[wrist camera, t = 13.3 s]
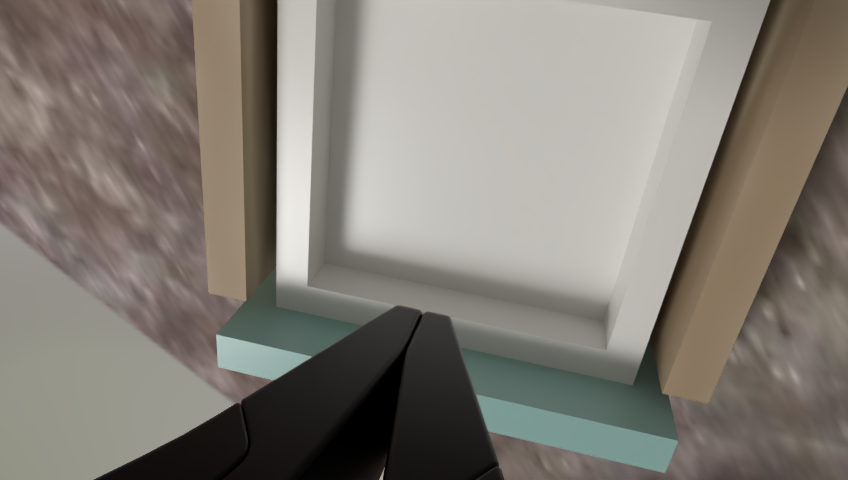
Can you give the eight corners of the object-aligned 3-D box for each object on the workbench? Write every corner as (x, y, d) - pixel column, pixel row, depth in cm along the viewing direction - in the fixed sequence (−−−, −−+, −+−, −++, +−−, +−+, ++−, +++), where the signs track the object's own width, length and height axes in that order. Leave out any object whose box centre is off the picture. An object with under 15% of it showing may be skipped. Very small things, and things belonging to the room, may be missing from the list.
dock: (855, -109, 14) (939, -121, 11) (685, 329, 19) (708, 403, 16) (255, -179, 16) (180, -207, 13) (259, 241, 21) (208, 293, 18)
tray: (789, -23, 15) (869, -7, 11) (646, 371, 20) (664, 473, 17) (280, -91, 16) (193, -99, 13) (278, 291, 22) (217, 366, 18)
